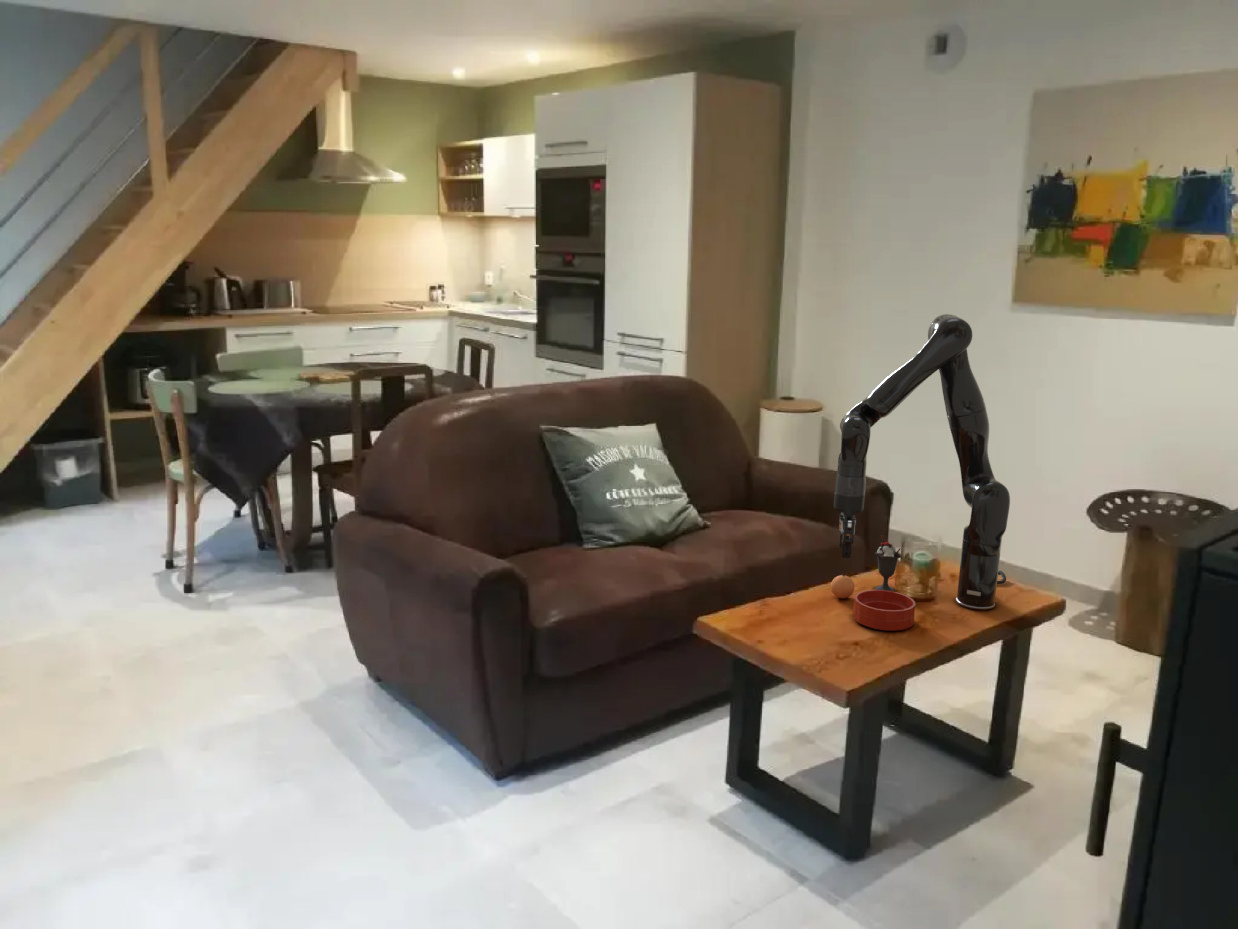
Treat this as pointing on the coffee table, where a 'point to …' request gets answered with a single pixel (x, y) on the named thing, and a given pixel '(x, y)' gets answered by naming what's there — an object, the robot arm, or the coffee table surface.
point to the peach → (842, 586)
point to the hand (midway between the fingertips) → (844, 552)
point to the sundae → (887, 563)
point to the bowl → (884, 610)
